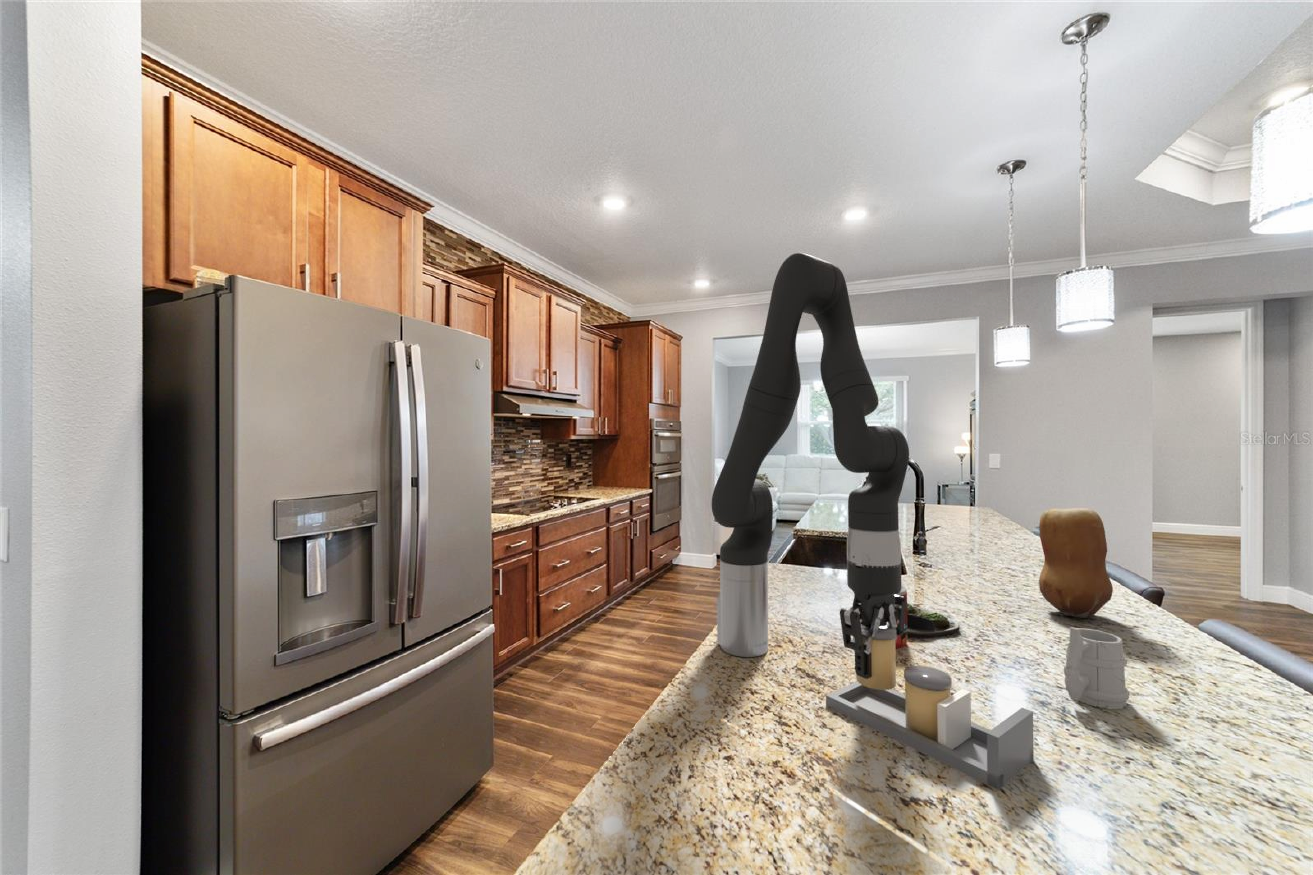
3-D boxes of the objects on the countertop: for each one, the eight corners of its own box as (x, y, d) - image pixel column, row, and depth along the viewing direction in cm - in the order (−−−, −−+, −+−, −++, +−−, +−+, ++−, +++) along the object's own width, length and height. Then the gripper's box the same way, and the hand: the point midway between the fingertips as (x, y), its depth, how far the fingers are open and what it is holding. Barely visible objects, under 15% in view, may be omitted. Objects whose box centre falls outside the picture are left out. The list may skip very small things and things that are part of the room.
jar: (847, 679, 78) (846, 626, 78) (869, 669, 81) (868, 618, 82) (883, 694, 73) (882, 637, 74) (905, 683, 77) (904, 629, 77)
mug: (1139, 703, 79) (1138, 625, 80) (1099, 722, 74) (1098, 638, 74) (1080, 682, 86) (1079, 610, 86) (1040, 698, 81) (1039, 622, 81)
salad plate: (843, 612, 123) (843, 593, 123) (908, 607, 127) (908, 588, 127) (898, 643, 104) (897, 620, 104) (972, 636, 108) (972, 613, 108)
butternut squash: (1038, 603, 128) (1037, 502, 129) (1110, 613, 121) (1108, 506, 121) (1039, 618, 117) (1038, 508, 117) (1118, 631, 109) (1116, 513, 110)
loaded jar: (896, 730, 72) (895, 672, 72) (918, 717, 75) (917, 662, 75) (938, 750, 67) (938, 688, 67) (960, 736, 70) (959, 677, 70)
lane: (826, 707, 79) (825, 665, 79) (864, 689, 84) (864, 650, 84) (998, 793, 59) (998, 737, 59) (1033, 762, 65) (1033, 711, 65)
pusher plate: (937, 750, 66) (937, 703, 66) (963, 733, 70) (962, 689, 70) (945, 754, 66) (945, 707, 66) (971, 736, 70) (970, 691, 70)
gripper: (877, 548, 85) (879, 651, 85) (822, 560, 77) (824, 675, 76) (923, 556, 79) (925, 667, 79) (868, 570, 71) (870, 694, 70)
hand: (875, 670), depth 77 cm, fingers closed on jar, 5 cm apart
